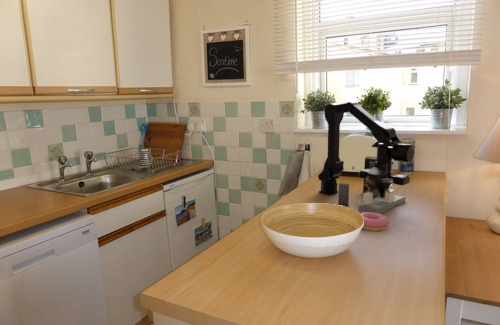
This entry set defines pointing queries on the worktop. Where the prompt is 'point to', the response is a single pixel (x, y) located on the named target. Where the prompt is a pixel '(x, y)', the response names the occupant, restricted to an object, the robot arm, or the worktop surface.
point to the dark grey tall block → (343, 194)
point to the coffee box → (368, 184)
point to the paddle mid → (389, 196)
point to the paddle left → (367, 198)
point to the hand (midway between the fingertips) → (382, 197)
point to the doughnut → (374, 221)
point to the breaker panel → (381, 204)
